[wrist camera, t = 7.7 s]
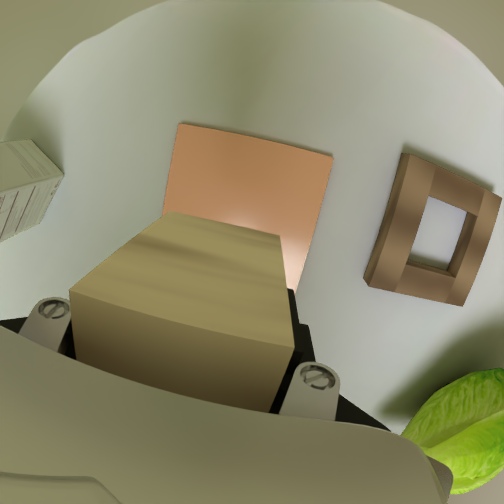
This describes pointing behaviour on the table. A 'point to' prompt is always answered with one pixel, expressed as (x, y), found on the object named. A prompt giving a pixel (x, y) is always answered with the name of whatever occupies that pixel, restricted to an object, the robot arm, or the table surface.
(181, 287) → the maple block
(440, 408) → the lettuce
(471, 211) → the pocket block
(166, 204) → the pad
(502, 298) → the table surface
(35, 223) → the supplement box
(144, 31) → the table surface
